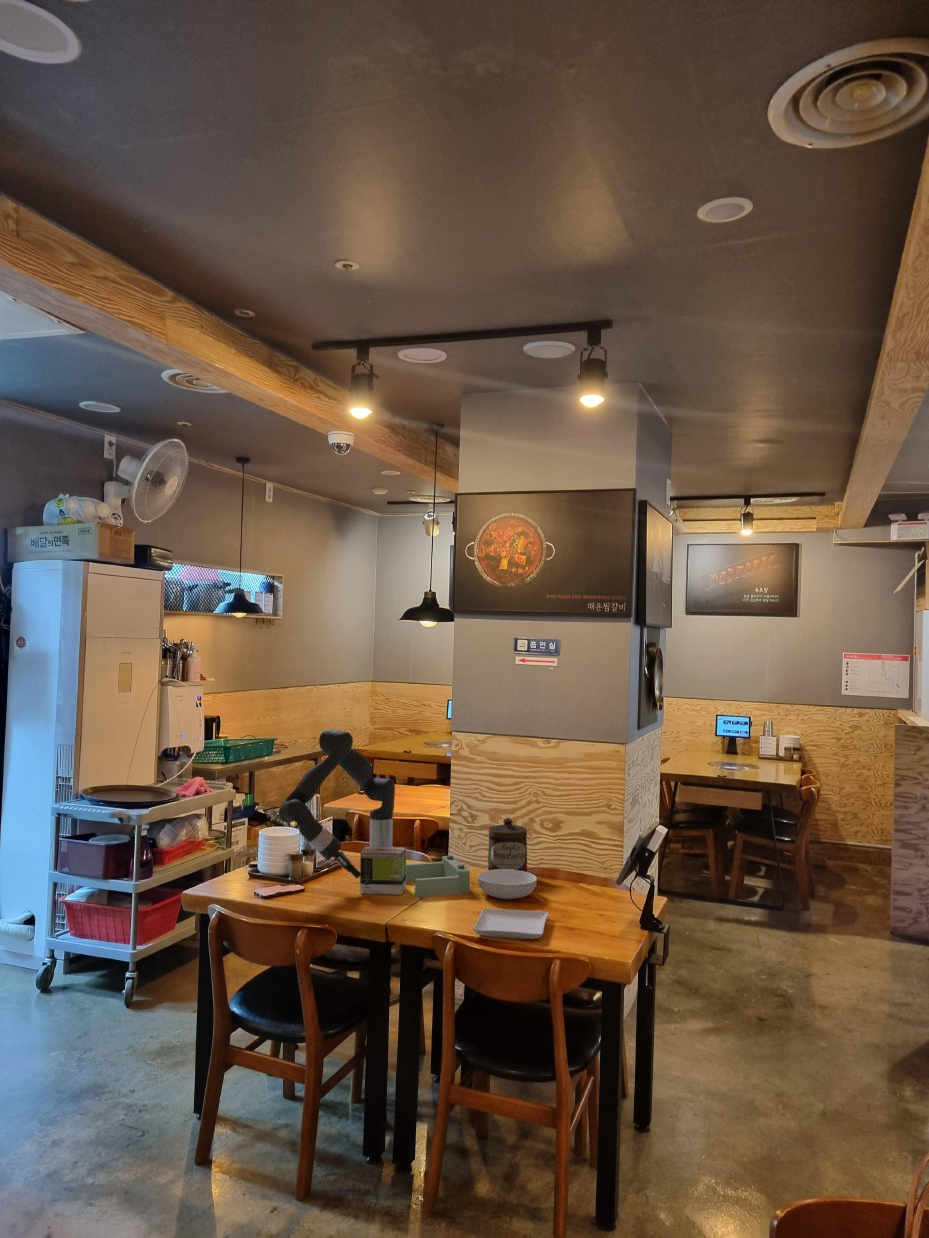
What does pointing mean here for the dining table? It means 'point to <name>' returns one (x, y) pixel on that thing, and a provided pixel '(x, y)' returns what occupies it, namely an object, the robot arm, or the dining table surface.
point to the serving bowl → (507, 883)
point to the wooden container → (507, 847)
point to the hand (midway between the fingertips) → (359, 875)
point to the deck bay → (439, 877)
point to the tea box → (383, 870)
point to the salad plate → (511, 923)
